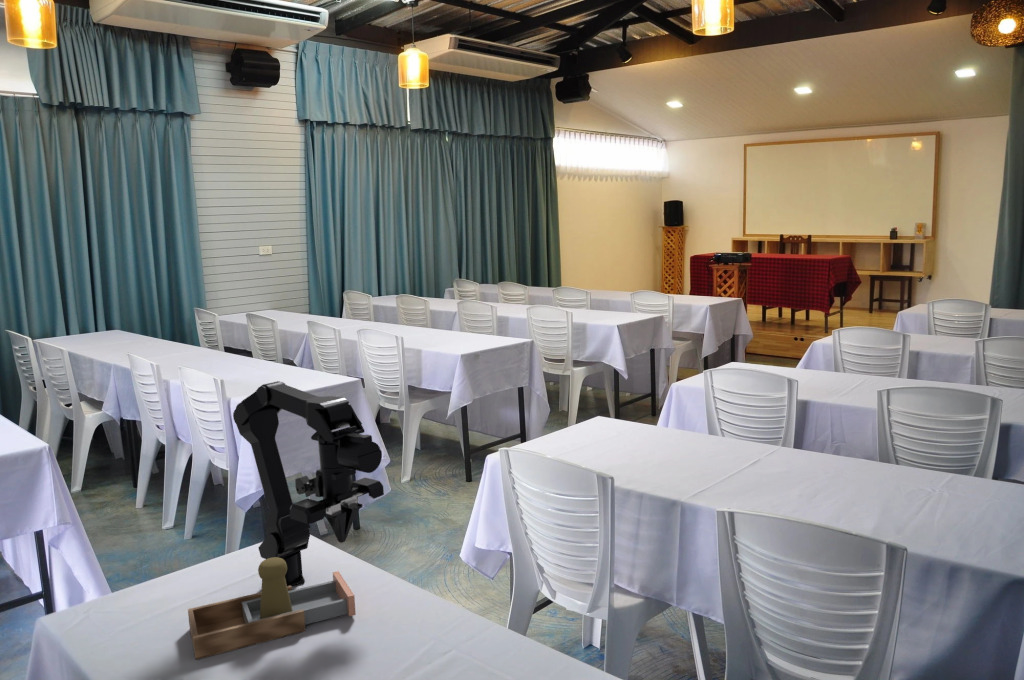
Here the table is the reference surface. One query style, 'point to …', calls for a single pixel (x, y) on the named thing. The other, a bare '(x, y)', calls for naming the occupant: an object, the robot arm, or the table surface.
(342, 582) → the tray
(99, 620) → the table surface
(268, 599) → the olive pawn figure
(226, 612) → the brown wooden box
